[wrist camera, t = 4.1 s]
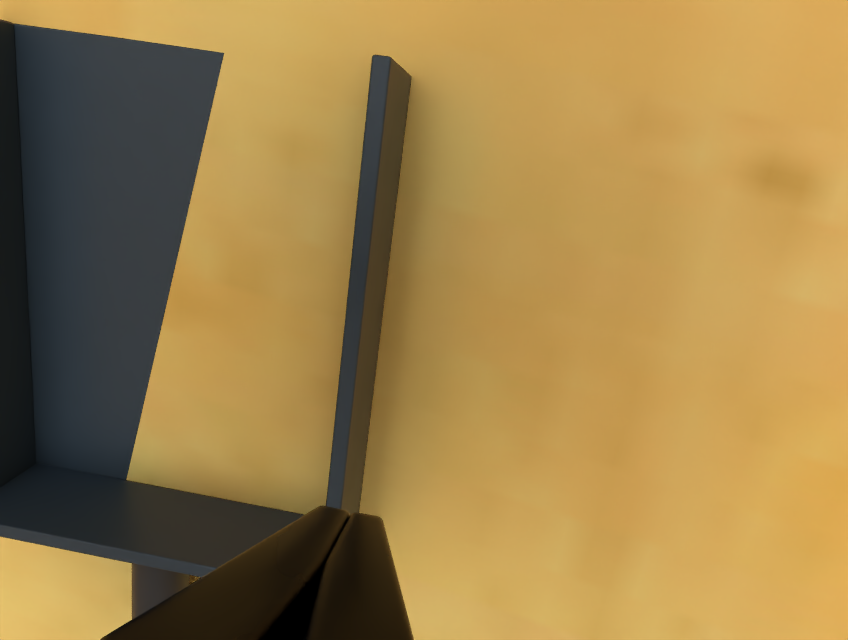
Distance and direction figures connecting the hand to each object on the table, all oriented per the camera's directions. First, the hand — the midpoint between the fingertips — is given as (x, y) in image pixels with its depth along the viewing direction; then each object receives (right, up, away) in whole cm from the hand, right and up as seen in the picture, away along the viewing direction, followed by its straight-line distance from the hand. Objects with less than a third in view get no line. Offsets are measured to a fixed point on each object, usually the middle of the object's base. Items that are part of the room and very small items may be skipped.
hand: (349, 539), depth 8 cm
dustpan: (-1, -1, +8) cm, 9 cm away
